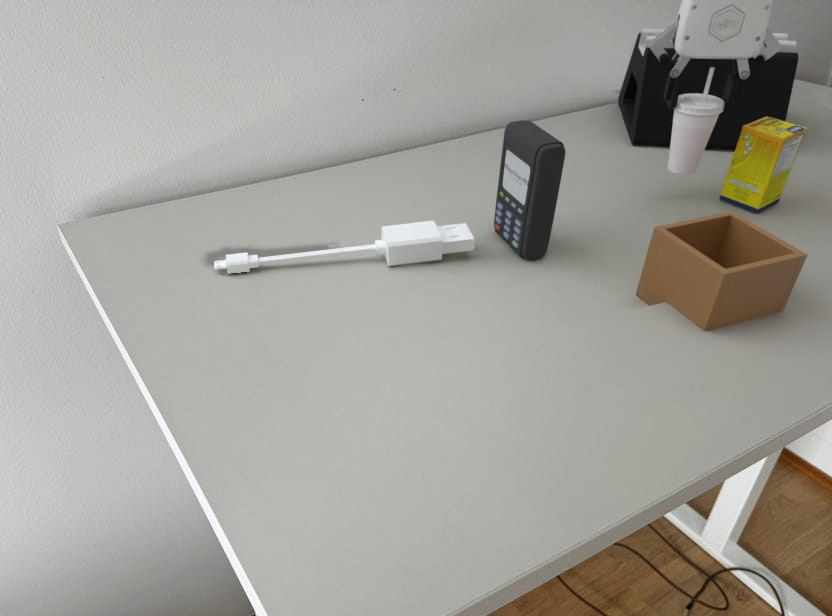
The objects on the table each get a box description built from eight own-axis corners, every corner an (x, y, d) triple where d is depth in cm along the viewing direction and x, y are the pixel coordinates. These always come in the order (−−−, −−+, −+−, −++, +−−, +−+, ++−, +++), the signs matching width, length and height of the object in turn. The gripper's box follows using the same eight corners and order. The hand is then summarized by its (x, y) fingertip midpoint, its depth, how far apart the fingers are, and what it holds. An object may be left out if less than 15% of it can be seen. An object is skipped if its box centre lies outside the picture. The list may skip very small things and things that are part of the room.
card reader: (487, 230, 95) (500, 120, 86) (514, 226, 96) (530, 116, 87) (520, 263, 89) (538, 147, 79) (549, 258, 90) (570, 143, 80)
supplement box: (739, 188, 105) (765, 115, 98) (779, 203, 101) (809, 127, 94) (716, 199, 102) (741, 124, 95) (756, 215, 98) (785, 137, 91)
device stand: (777, 154, 114) (813, 57, 105) (632, 146, 118) (655, 51, 108) (743, 107, 132) (772, 20, 122) (617, 101, 135) (636, 16, 126)
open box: (708, 277, 86) (731, 210, 80) (777, 324, 78) (808, 254, 72) (635, 294, 83) (654, 226, 77) (698, 345, 75) (725, 274, 70)
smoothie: (692, 182, 97) (721, 77, 89) (648, 169, 101) (672, 67, 92) (714, 168, 100) (744, 65, 92) (671, 157, 104) (696, 57, 96)
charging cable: (217, 267, 91) (212, 244, 88) (463, 238, 93) (465, 215, 91) (216, 288, 87) (211, 264, 85) (474, 257, 89) (475, 234, 87)
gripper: (666, -40, 83) (634, 114, 94) (828, -42, 80) (775, 117, 91) (656, -50, 89) (627, 96, 99) (806, -52, 86) (759, 98, 97)
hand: (698, 105), depth 95 cm, fingers closed on smoothie, 6 cm apart
